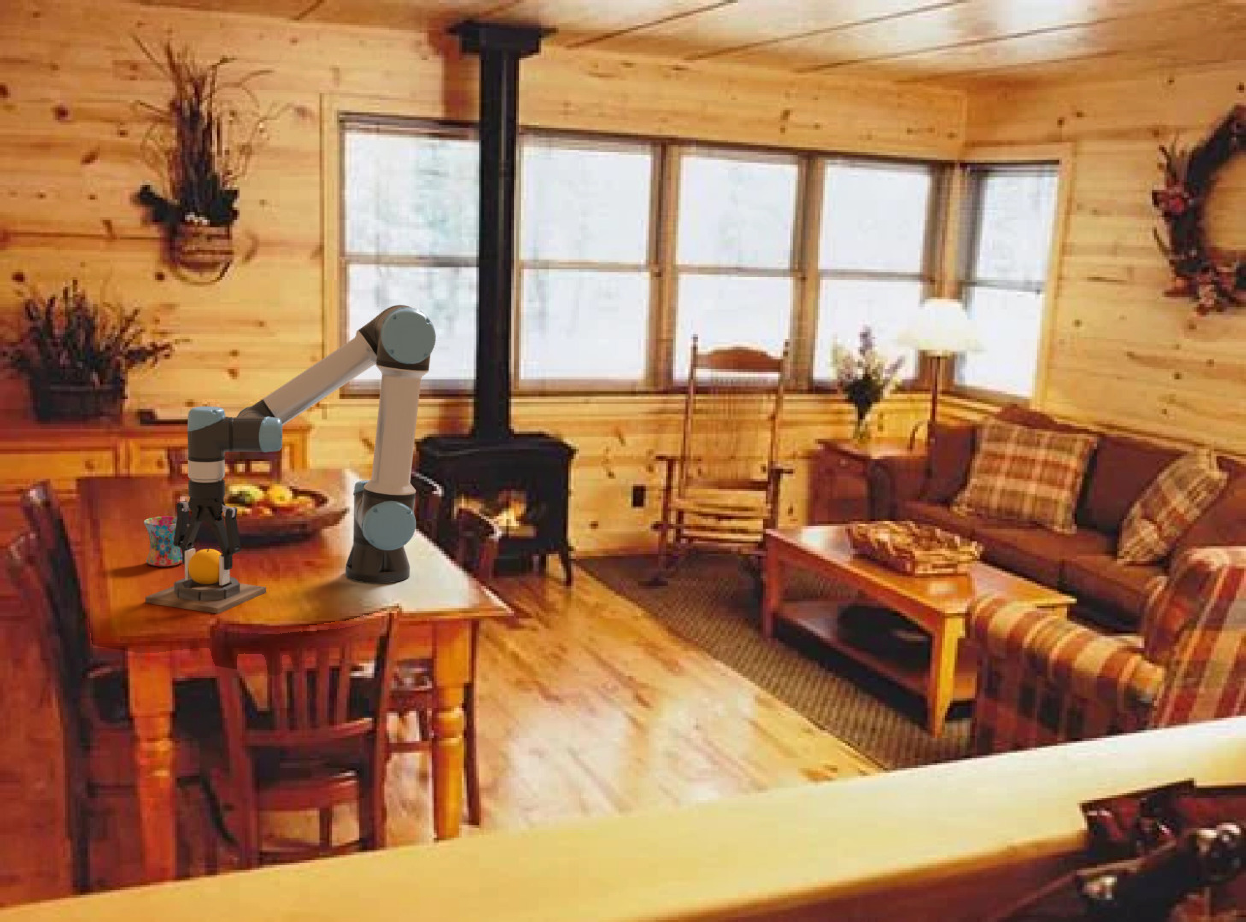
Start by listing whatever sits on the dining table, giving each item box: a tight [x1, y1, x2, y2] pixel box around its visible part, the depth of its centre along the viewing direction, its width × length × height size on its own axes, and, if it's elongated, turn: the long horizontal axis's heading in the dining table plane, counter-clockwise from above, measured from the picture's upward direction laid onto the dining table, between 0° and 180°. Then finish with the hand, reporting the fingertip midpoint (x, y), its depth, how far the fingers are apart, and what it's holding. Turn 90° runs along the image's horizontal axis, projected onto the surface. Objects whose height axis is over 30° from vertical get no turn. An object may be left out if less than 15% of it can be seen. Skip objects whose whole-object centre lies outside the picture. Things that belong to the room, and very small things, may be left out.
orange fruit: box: [188, 548, 222, 584], centre depth 270 cm, size 8×8×8 cm
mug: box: [143, 515, 190, 567], centre depth 295 cm, size 12×9×11 cm
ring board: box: [144, 576, 267, 615], centre depth 270 cm, size 18×18×3 cm
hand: (207, 581), depth 270 cm, fingers closed on orange fruit, 8 cm apart
